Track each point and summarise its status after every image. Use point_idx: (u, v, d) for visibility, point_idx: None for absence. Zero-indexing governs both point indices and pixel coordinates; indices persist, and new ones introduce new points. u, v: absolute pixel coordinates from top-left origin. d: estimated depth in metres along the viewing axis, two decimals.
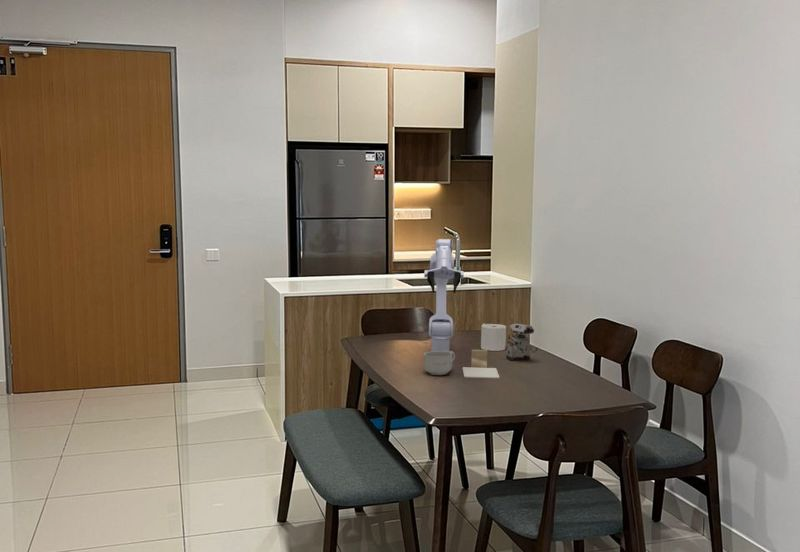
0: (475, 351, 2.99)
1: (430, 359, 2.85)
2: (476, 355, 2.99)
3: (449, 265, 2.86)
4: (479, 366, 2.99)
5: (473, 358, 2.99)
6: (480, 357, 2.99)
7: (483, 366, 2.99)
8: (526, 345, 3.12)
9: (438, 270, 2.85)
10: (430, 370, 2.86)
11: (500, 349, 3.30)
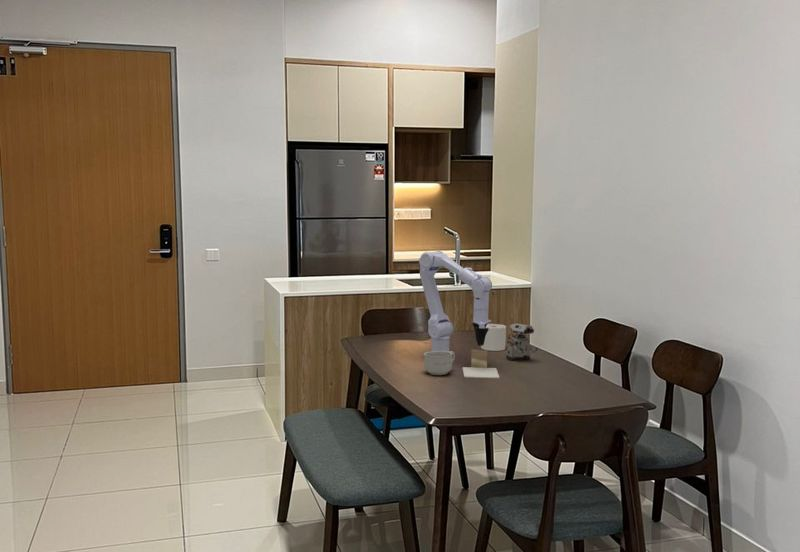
0: (475, 351, 2.99)
1: (430, 359, 2.85)
2: (476, 355, 2.99)
3: None
4: (479, 366, 2.99)
5: (473, 358, 2.99)
6: (480, 357, 2.99)
7: (483, 366, 2.99)
8: (526, 345, 3.12)
9: None
10: (430, 370, 2.86)
11: (500, 349, 3.30)
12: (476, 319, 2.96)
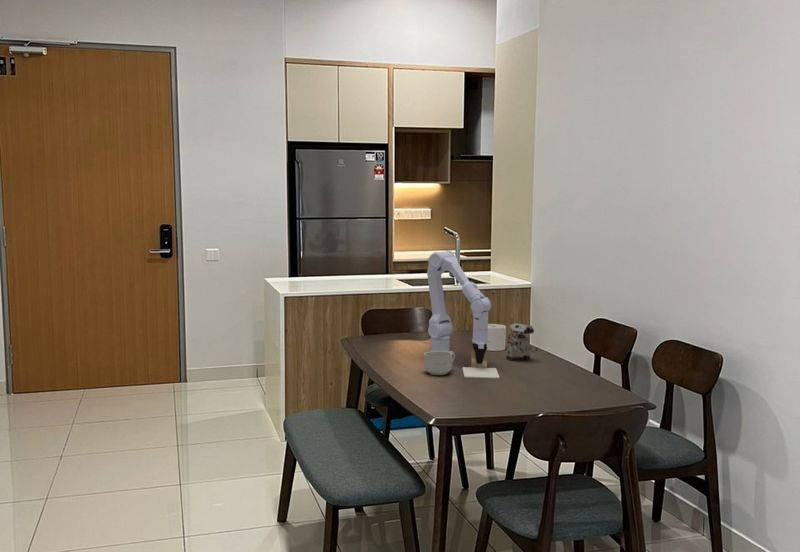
0: None
1: (430, 359, 2.85)
2: None
3: None
4: (479, 366, 2.99)
5: (473, 358, 2.99)
6: None
7: (483, 366, 2.99)
8: (526, 345, 3.12)
9: None
10: (430, 370, 2.86)
11: (500, 349, 3.30)
12: (475, 339, 2.97)
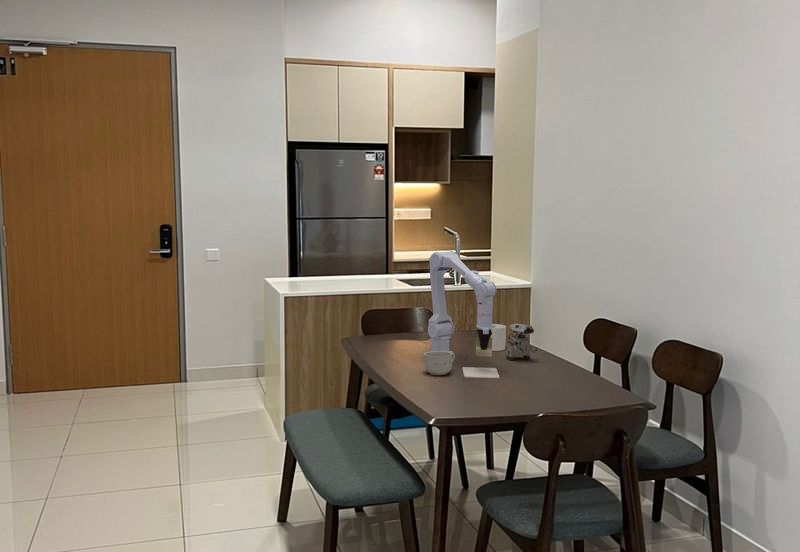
0: None
1: (430, 359, 2.85)
2: None
3: None
4: (484, 354, 2.92)
5: (478, 346, 2.92)
6: None
7: (488, 354, 2.92)
8: (526, 345, 3.12)
9: (489, 328, 2.90)
10: (430, 370, 2.86)
11: (500, 349, 3.30)
12: (480, 324, 2.89)
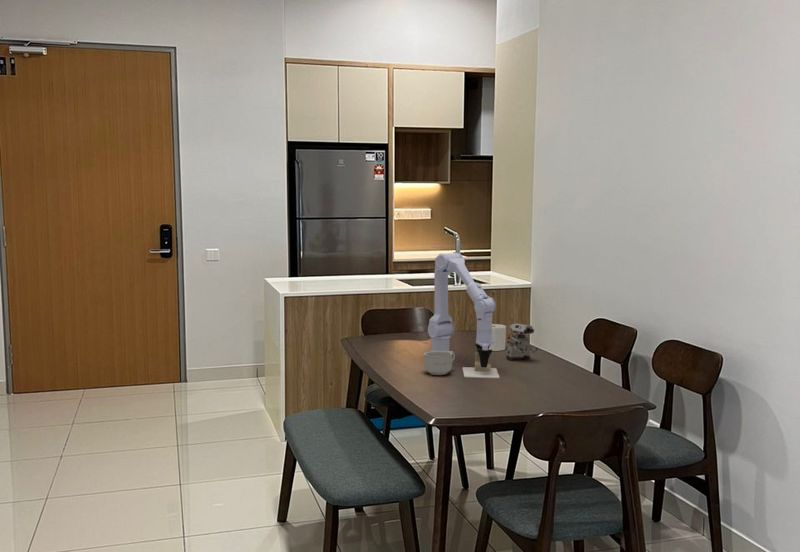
0: None
1: (430, 359, 2.85)
2: None
3: None
4: (483, 369, 2.93)
5: (477, 361, 2.93)
6: None
7: (487, 369, 2.93)
8: (526, 345, 3.12)
9: (489, 344, 2.90)
10: (430, 370, 2.86)
11: (500, 349, 3.30)
12: (479, 340, 2.90)
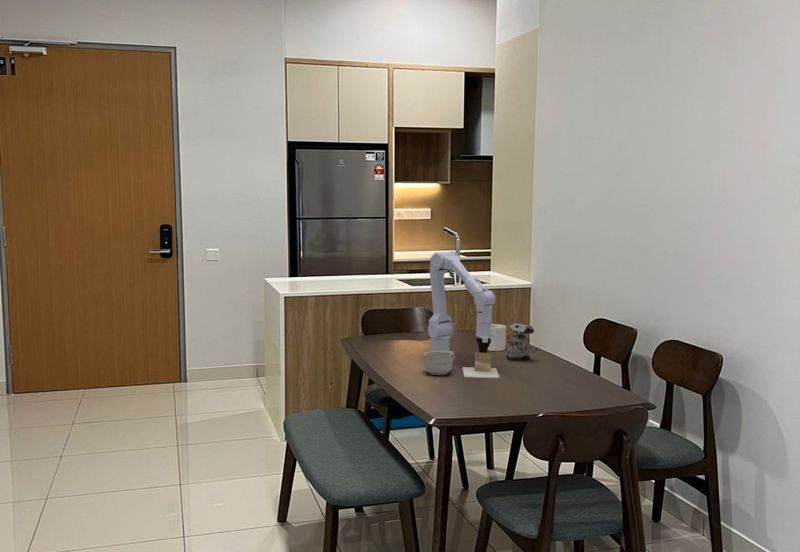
0: (479, 354, 2.92)
1: (430, 359, 2.85)
2: (480, 358, 2.92)
3: None
4: (483, 369, 2.93)
5: (477, 361, 2.93)
6: (484, 360, 2.92)
7: (487, 369, 2.93)
8: (526, 345, 3.12)
9: None
10: (430, 370, 2.86)
11: (500, 349, 3.30)
12: (479, 333, 2.92)
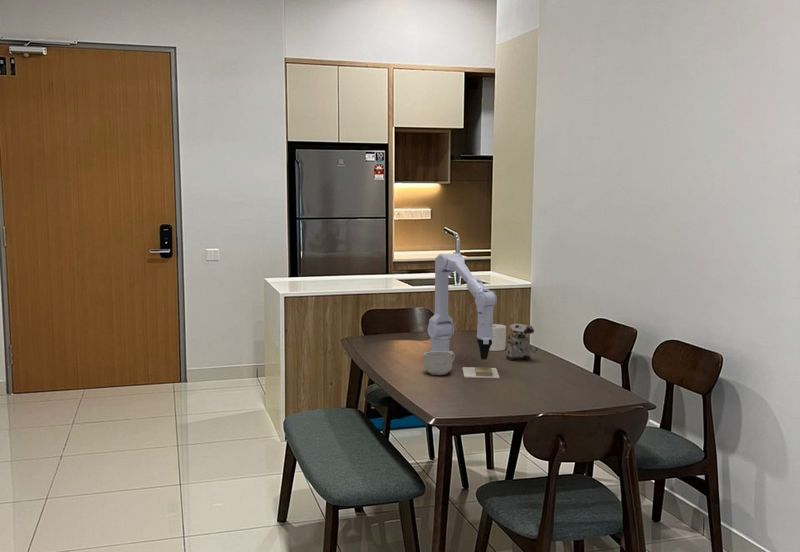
0: (479, 375, 2.86)
1: (430, 359, 2.85)
2: None
3: None
4: None
5: None
6: None
7: None
8: (526, 345, 3.12)
9: (490, 338, 2.87)
10: (430, 370, 2.86)
11: (500, 349, 3.30)
12: (480, 334, 2.87)
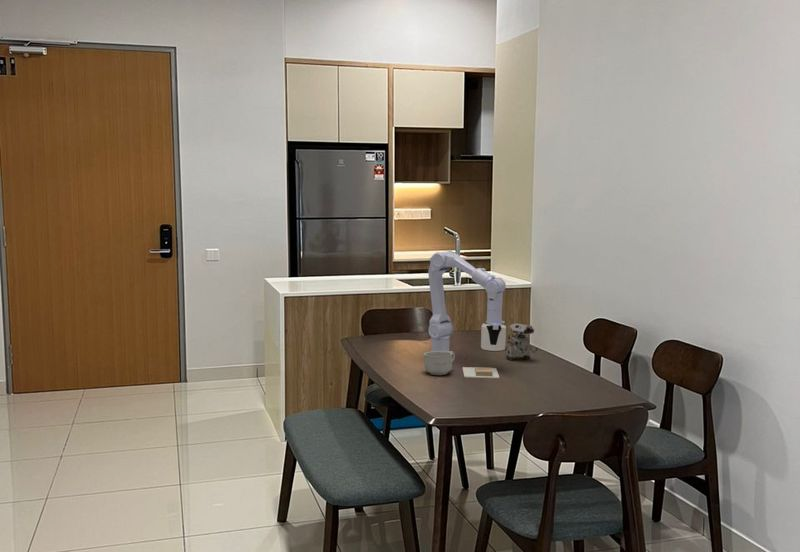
0: (479, 375, 2.86)
1: (430, 359, 2.85)
2: None
3: None
4: None
5: None
6: None
7: None
8: (526, 345, 3.12)
9: None
10: (430, 370, 2.86)
11: (500, 349, 3.30)
12: (490, 320, 2.93)
